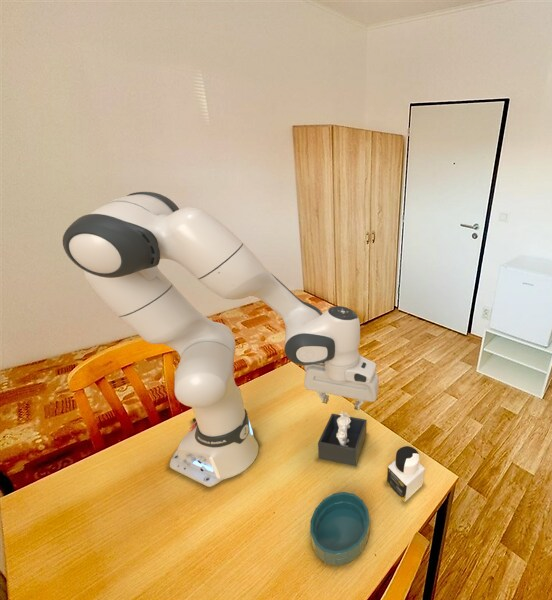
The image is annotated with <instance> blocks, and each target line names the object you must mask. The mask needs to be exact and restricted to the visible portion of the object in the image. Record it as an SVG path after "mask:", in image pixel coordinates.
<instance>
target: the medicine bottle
mask: <svg viewBox="0 0 552 600" xmlns="http://www.w3.org/2000/svg"><path fill="white" fill-rule="evenodd" d="M425 472H426V467H424V466H423V465H422V464H421V463H420V454H419V452H418V450H417V449H416V448H414V447H412V446H410V445H405V446H401V447H400V448H399V449H398V450H397V451H396V453H395V460H393V461H392V462H391V463H389V464H388V466H387V475H386V484H387V485H388V486H389V487H390V488H391V489H392V491H393V492H394V493H395V494H396V495H397V496H398V497H399V498H400V499H401V500H402V501H403V502H404V503H406V502H407V501H408V500H409V499H410V498H411V497H412V496H413V495H414V494H415V493H416V492H417V491H418V490H419V489H420V488H422V486H423V484H424V478H425Z"/></svg>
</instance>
